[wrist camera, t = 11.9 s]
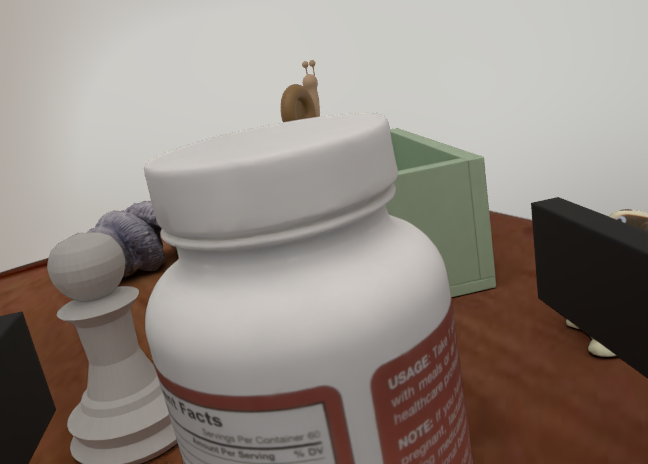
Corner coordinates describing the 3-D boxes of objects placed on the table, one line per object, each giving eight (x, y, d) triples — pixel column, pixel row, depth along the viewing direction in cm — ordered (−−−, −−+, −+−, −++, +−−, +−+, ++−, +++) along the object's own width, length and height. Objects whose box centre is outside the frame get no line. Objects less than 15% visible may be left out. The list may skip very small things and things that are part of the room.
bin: (203, 354, 28) (168, 221, 26) (210, 260, 42) (189, 168, 40) (497, 287, 30) (484, 156, 28) (410, 218, 44) (398, 127, 42)
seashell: (204, 258, 47) (88, 314, 40) (166, 205, 48) (46, 252, 41) (228, 221, 43) (104, 277, 36) (186, 165, 44) (58, 209, 37)
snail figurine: (360, 192, 54) (338, 55, 50) (334, 213, 48) (308, 61, 45) (305, 196, 56) (281, 65, 53) (275, 217, 51) (246, 72, 47)
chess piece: (52, 445, 23) (-17, 249, 21) (158, 385, 26) (109, 209, 24) (109, 493, 20) (34, 265, 17) (223, 417, 23) (172, 216, 20)
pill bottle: (411, 468, 18) (354, 101, 15) (549, 637, 13) (504, 107, 9) (211, 549, 16) (100, 154, 13) (267, 789, 11) (97, 200, 8)
